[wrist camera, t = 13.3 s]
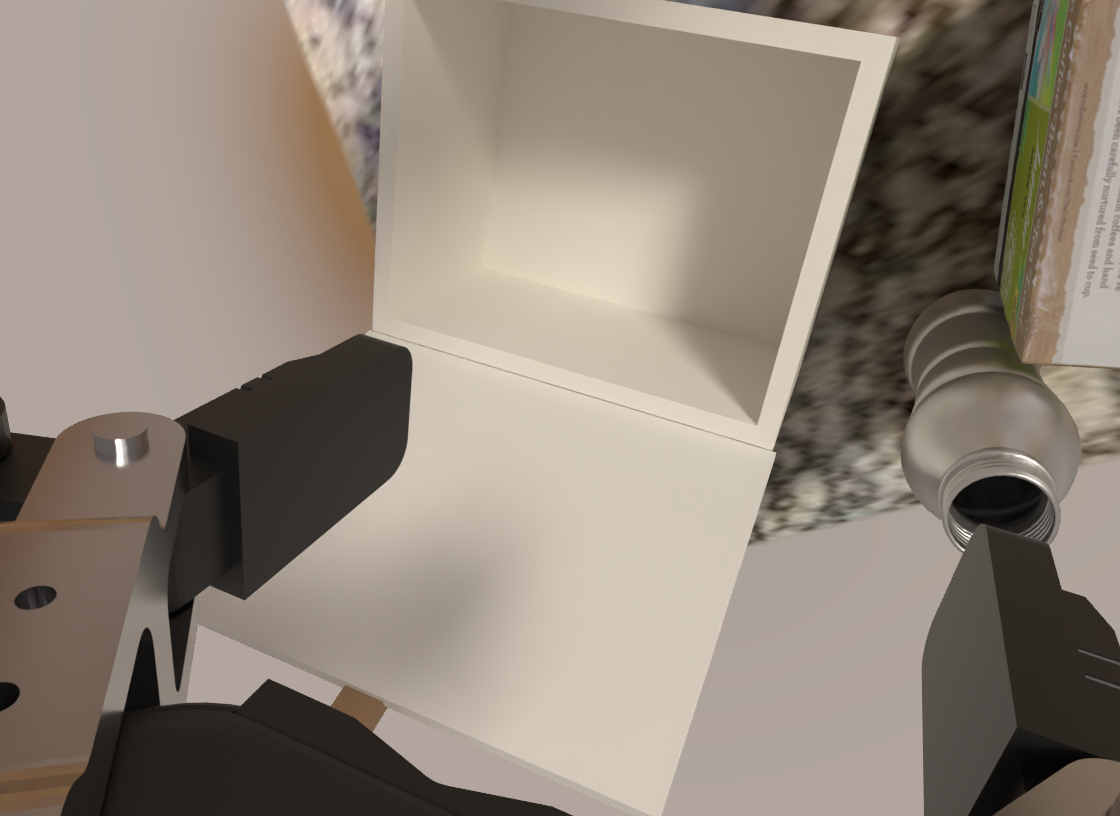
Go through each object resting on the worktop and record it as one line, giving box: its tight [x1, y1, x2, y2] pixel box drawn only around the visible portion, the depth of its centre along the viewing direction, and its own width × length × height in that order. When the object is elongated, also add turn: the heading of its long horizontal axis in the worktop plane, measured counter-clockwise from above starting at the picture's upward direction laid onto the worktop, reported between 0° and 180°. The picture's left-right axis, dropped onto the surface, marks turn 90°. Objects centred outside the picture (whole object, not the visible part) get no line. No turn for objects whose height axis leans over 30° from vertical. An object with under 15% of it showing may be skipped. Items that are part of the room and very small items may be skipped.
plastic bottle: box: [901, 289, 1081, 553], centre depth 37 cm, size 6×7×20 cm
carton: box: [372, 0, 900, 451], centre depth 43 cm, size 18×22×12 cm
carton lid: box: [198, 330, 776, 816], centre depth 35 cm, size 23×22×4 cm
